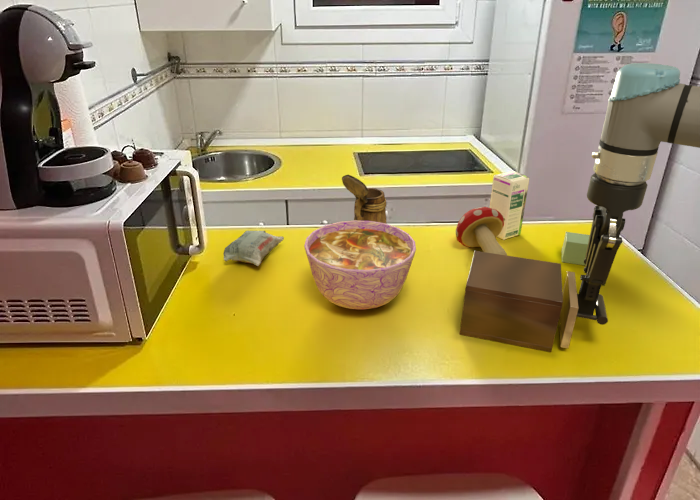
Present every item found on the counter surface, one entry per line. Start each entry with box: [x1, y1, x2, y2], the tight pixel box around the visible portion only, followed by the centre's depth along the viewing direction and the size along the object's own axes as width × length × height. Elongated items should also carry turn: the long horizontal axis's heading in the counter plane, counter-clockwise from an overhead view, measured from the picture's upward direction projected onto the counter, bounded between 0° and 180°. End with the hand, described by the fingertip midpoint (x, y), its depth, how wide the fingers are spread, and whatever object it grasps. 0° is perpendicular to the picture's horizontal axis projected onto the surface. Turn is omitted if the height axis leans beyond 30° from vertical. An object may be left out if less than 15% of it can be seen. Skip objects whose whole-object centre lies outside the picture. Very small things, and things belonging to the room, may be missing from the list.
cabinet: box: [459, 250, 563, 353], centre depth 89 cm, size 15×13×10 cm
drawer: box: [558, 270, 609, 349], centre depth 88 cm, size 19×12×8 cm, turn 72°
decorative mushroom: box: [455, 206, 508, 256], centre depth 112 cm, size 11×11×15 cm
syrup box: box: [489, 170, 530, 241], centre depth 120 cm, size 6×6×14 cm
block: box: [561, 231, 590, 266], centre depth 111 cm, size 5×5×5 cm
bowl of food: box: [303, 219, 417, 311], centre depth 96 cm, size 20×20×12 cm
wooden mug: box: [341, 174, 388, 224], centre depth 115 cm, size 9×14×18 cm, turn 145°
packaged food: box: [223, 230, 285, 267], centre depth 111 cm, size 9×12×5 cm
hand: (583, 311), depth 86 cm, fingers closed
